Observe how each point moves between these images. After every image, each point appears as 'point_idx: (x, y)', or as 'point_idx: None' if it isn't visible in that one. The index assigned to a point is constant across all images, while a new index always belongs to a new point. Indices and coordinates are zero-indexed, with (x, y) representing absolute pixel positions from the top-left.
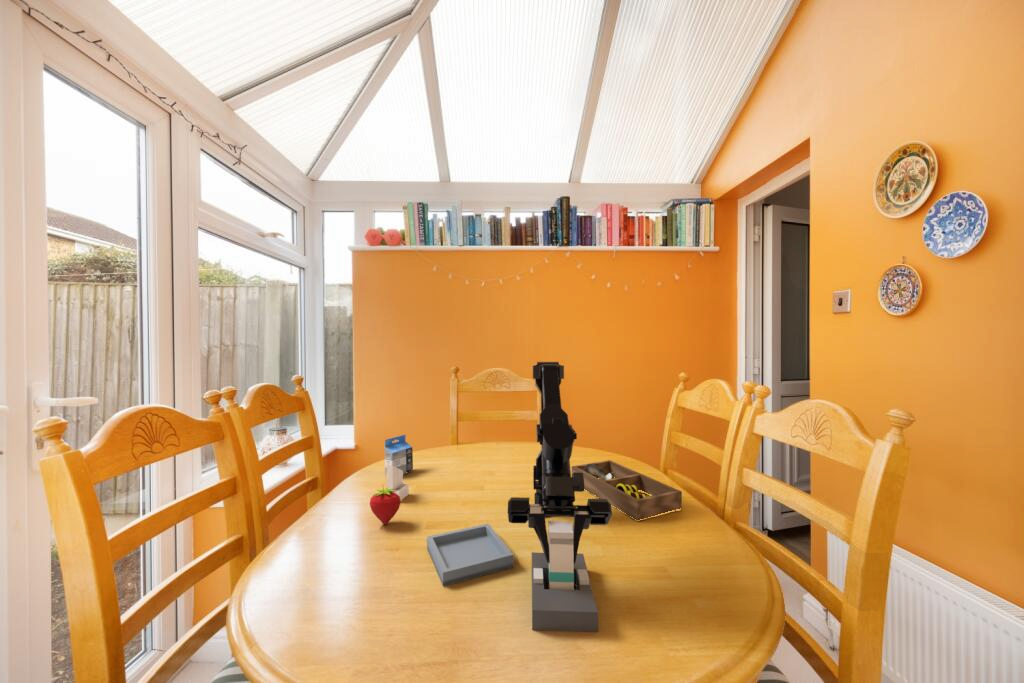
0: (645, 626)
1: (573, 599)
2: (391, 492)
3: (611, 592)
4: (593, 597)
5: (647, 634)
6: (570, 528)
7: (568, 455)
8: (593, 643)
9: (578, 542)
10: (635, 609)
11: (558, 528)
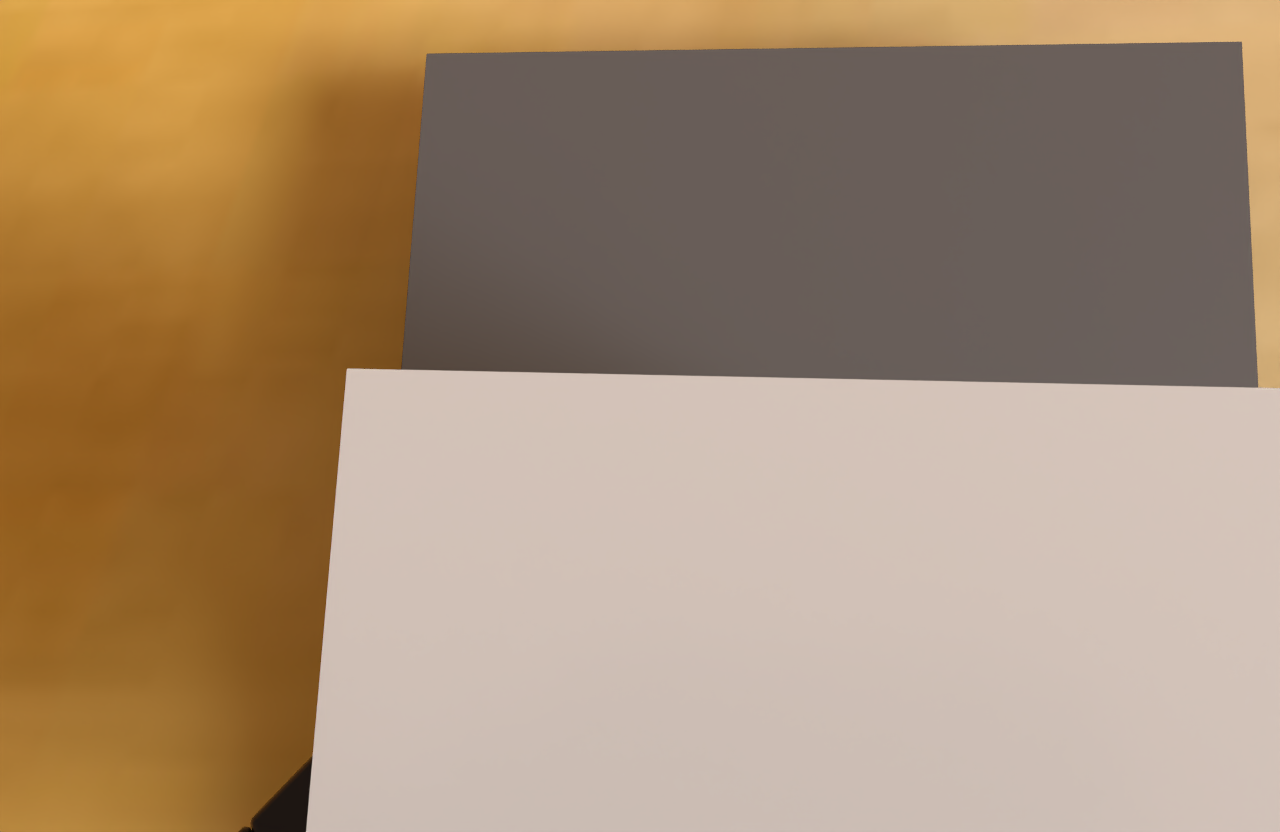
0: (28, 237)
1: (679, 260)
2: None
3: (179, 747)
4: (416, 300)
5: (52, 143)
6: (404, 788)
7: None
8: (559, 18)
9: (308, 777)
10: (26, 464)
11: (1043, 800)
